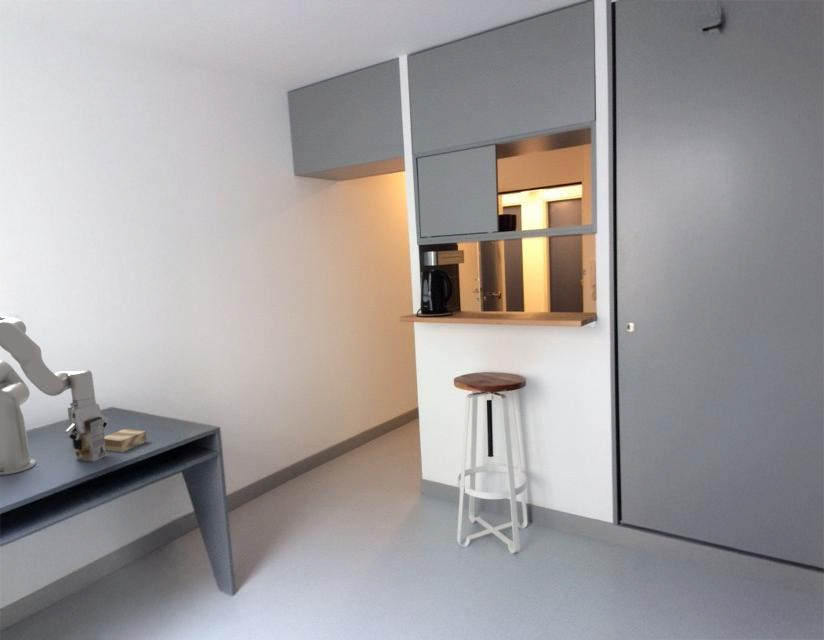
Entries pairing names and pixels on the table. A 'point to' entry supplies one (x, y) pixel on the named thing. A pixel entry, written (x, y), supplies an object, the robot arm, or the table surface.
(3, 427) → the robot arm
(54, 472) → the table surface
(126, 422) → the table surface
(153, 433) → the table surface
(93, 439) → the coffee box
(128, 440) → the oak block
